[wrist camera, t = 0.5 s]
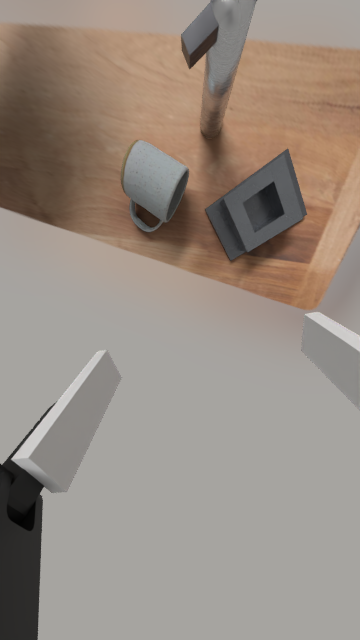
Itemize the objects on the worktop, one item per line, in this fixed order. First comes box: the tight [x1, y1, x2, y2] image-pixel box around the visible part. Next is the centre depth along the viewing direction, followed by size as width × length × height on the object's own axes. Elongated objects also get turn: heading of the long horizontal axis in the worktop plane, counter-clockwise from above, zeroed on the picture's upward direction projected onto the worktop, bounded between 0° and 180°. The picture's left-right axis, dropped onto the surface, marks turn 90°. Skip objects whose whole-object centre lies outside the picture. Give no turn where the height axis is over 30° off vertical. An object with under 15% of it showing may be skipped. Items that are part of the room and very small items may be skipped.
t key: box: [181, 0, 257, 138], centre depth 18 cm, size 8×3×15 cm, turn 123°
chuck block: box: [205, 149, 307, 261], centre depth 28 cm, size 10×14×4 cm
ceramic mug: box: [121, 140, 189, 232], centre depth 26 cm, size 11×8×8 cm
